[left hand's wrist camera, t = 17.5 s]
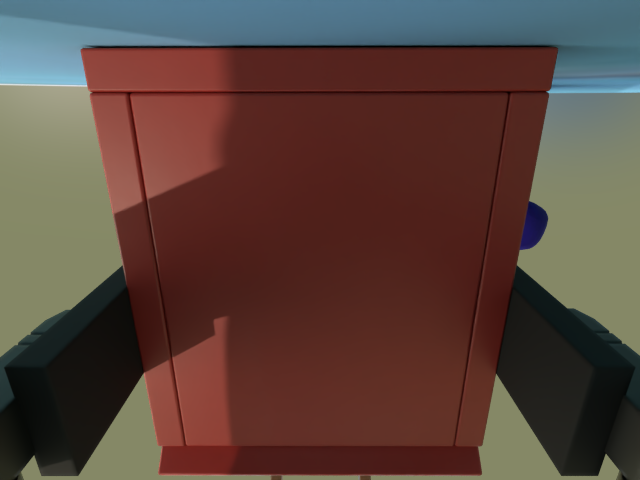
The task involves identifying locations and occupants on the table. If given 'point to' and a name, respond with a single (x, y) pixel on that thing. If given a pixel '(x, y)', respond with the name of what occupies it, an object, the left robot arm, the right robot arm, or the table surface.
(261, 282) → the chest
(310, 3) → the table surface
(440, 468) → the lid
